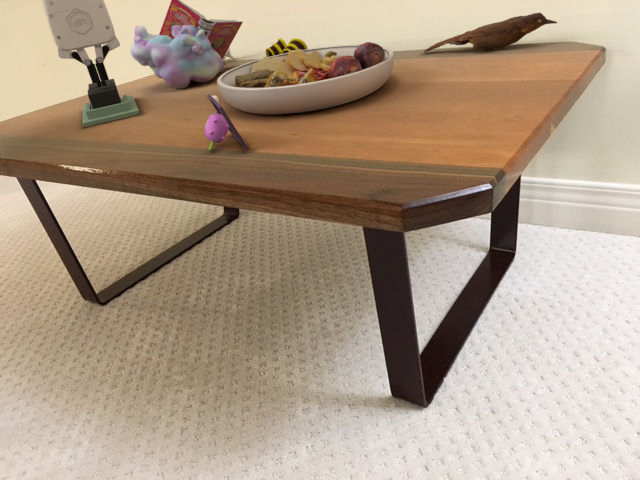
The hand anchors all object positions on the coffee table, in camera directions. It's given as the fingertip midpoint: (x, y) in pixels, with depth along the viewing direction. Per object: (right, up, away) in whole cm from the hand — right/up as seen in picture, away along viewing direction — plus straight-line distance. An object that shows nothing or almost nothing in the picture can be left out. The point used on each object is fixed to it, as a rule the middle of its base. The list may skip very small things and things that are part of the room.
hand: (102, 85), depth 101 cm
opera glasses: (+33, +12, +23) cm, 42 cm away
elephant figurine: (+15, +15, +35) cm, 41 cm away
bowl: (+39, -3, -6) cm, 39 cm away
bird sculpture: (+73, +8, +4) cm, 73 cm away
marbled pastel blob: (+12, +7, +21) cm, 25 cm away
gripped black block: (0, -4, +2) cm, 5 cm away
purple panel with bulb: (+27, -16, -26) cm, 41 cm away
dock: (0, -4, +4) cm, 6 cm away
